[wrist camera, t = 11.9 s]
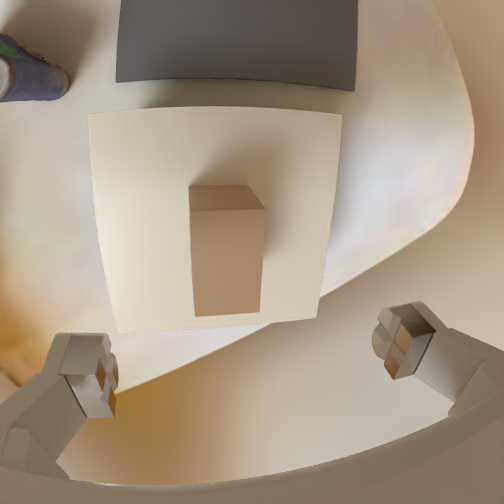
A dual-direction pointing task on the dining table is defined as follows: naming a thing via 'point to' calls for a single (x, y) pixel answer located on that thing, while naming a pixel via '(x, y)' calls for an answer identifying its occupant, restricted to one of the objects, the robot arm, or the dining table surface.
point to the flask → (28, 75)
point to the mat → (239, 41)
